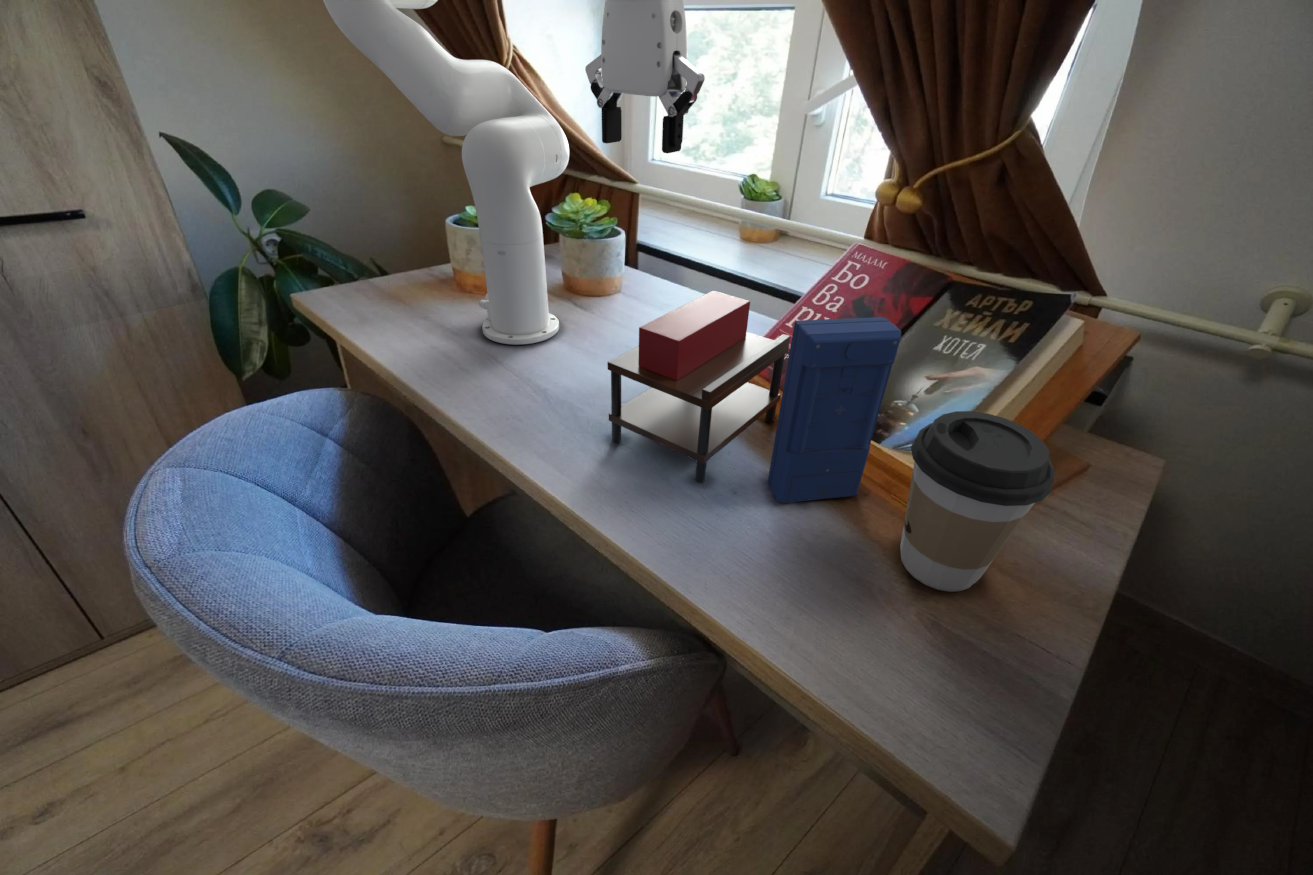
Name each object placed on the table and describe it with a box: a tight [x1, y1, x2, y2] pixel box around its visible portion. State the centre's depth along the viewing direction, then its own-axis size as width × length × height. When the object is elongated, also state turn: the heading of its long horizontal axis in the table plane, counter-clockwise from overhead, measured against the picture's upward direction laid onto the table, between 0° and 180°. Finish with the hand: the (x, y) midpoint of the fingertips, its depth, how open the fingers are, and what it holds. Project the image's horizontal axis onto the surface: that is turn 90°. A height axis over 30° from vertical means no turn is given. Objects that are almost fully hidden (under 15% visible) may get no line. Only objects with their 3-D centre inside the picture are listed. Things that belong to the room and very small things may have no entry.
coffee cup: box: [899, 410, 1056, 593], centre depth 55 cm, size 11×11×15 cm
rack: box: [607, 331, 791, 484], centre depth 75 cm, size 14×18×12 cm
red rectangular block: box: [638, 290, 751, 381], centre depth 71 cm, size 5×15×5 cm, turn 143°
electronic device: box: [767, 316, 902, 503], centre depth 63 cm, size 10×5×20 cm, turn 100°
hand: (640, 147), depth 77 cm, fingers open, 9 cm apart
